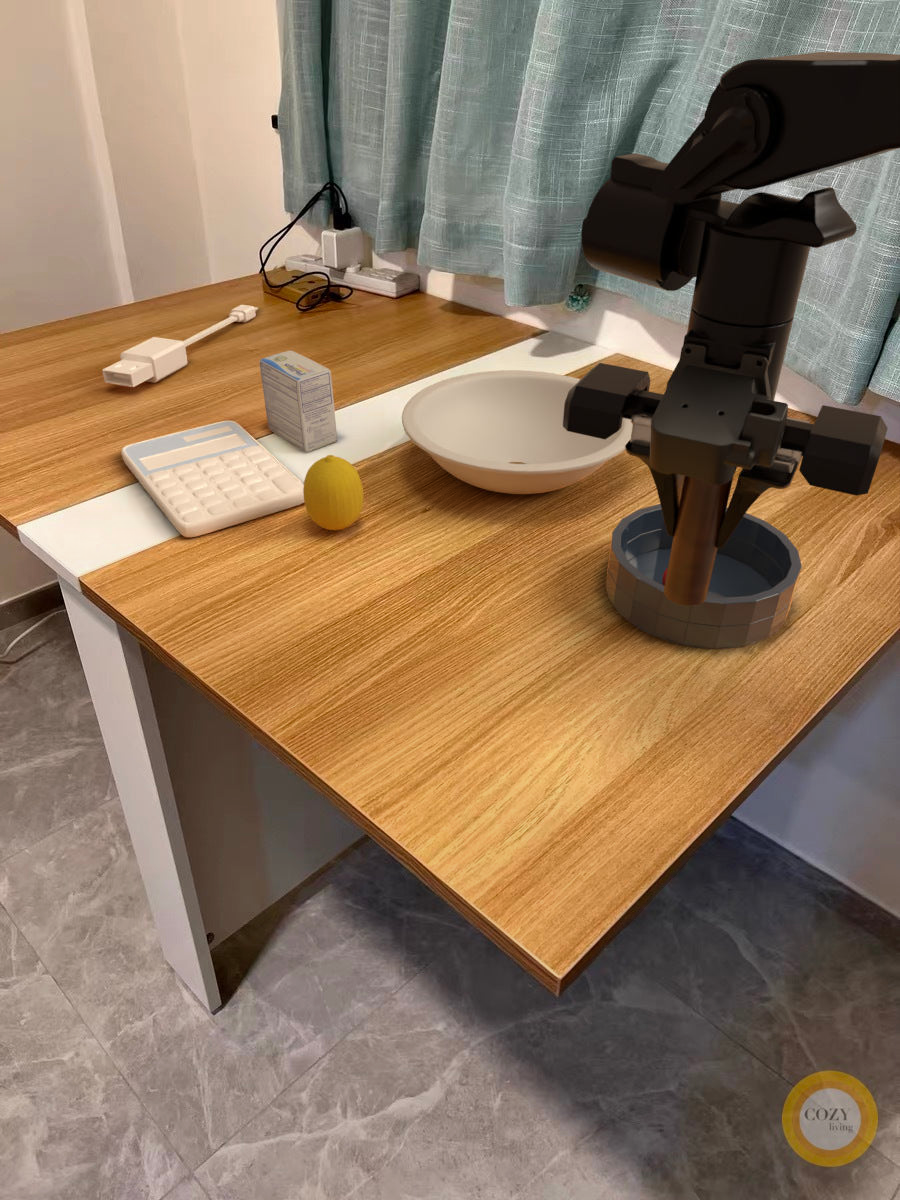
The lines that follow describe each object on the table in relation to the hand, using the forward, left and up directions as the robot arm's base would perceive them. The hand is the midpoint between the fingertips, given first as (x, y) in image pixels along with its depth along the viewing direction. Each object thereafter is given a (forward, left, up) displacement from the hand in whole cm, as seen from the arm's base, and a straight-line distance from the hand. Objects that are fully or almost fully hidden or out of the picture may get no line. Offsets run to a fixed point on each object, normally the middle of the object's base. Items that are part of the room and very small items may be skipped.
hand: (695, 539), depth 60 cm
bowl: (+1, -11, -13) cm, 17 cm away
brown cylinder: (0, 0, -5) cm, 5 cm away
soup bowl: (+24, -24, -13) cm, 37 cm away
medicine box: (+49, -20, -13) cm, 55 cm away
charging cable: (+78, -34, -13) cm, 86 cm away
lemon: (+34, -5, -13) cm, 37 cm away
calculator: (+51, -7, -13) cm, 53 cm away
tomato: (+2, -10, -11) cm, 15 cm away
